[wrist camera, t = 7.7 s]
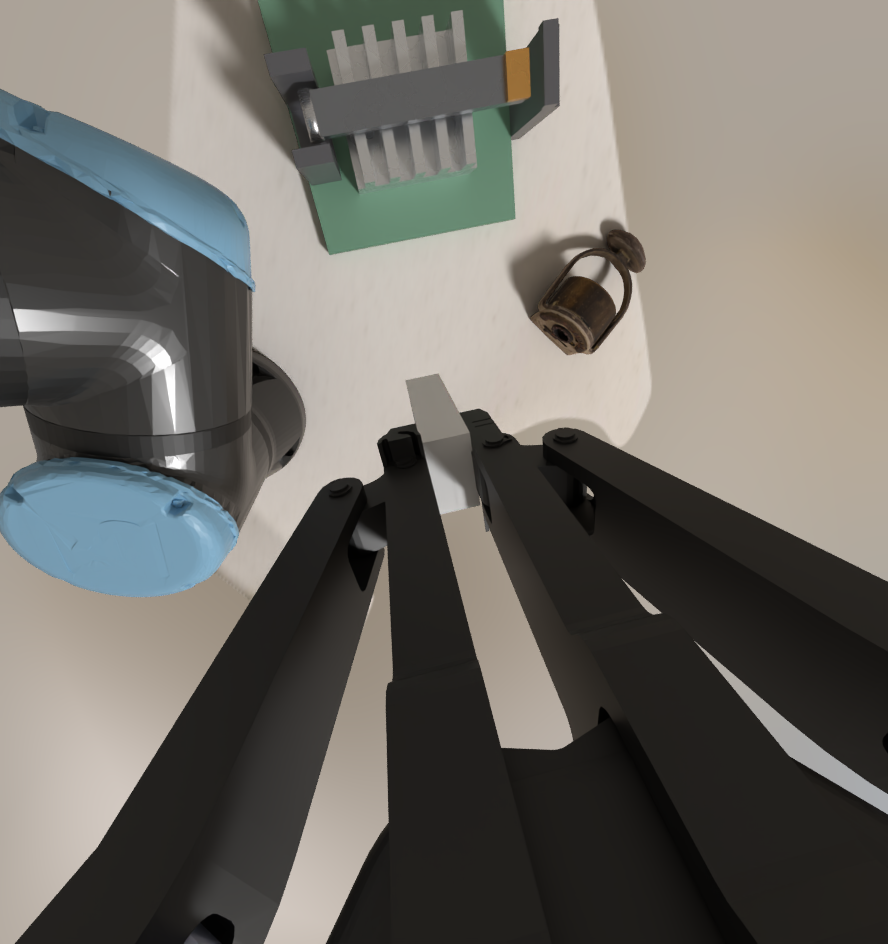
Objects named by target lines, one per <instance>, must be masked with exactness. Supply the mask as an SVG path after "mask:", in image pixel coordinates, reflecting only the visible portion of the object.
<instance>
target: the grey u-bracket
mask: <svg viewBox="0 0 888 944" xmlns="http://www.w3.org/2000/svg"><path fill="white" fill-rule="evenodd" d="M264 57H265V60H266V64H267V67H268V71H269V74H270V77H271V79H272V81H273V82H274V84H275V86H276V87H277V89H278V91H279V93H280V94H281V96H282V98H283V99H284V101H285V103H286V104H287V106H288V108H289V109H290V111H291V114H292V117H293V121H294V124H295V128H296V132H297V135H298V139H299V142H300V146H301V148H300V149H295V150H292V153H293V157H294V160H295V164H296V167H297V169H298V170H299V171H300V173H301V174H302V175H303V176H304V177H305V178H306V179H307V180H308V181H309V183H310V184H311V185H312V186H313V185H318V184H324V183H329V182H335V181H340V180H342V178H341V174H340V170H339V165H338V161H337V157H336V153H335V149H334V145H333V141H332V138H331V139H326V140H325V141H324V142H321V143H311V141H310V137H309V133H308V130H307V126H306V122H305V118H304V115H303V111H302V107H301V103H300V100H299V96H298V90H300V89H303V88H311V89H318V88H319V86H318V83H317V80H316V77H315V74H314V71H313V68H312V65H311V62H310V59H309V56H308V53H307V50H306V47H305V48H299V49H293V50H287V51H281V52H275V53H269V54H264Z"/></svg>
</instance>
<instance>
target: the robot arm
mask: <svg viewBox="0 0 888 944" xmlns="http://www.w3.org/2000/svg"><path fill="white" fill-rule="evenodd" d="M252 292H255V282H254V281H253V280H252V278H251V260H250V238H249V230H248V225H247V222H246V220H245V218H244V216H243V214H242V212H241V211H240V209H239V208H238V207H237V205H236V204H235V203H234V202H233V201H232V200H231V199H230V198H229V197H228V196H227V195H225V194H224V193H223V192H222V191H220V190H219V189H217V188H216V187H214V186H213V185H211V184H210V183H208V182H206V181H205V180H203V179H201V178H199V177H197V176H196V175H194V174H192V173H190V172H188V171H186V170H184V169H182V168H180V167H178V166H176V165H174V164H173V163H171V162H168V161H166V160H164V159H162V158H160V157H158V156H156V155H154V154H152V153H150V152H147V151H146V150H143V149H141V148H139V147H137V146H135V145H133V144H131V143H128V142H126V141H124V140H122V139H120V138H117V137H115V136H113V135H111V134H109V133H106V132H104V131H102V130H99V129H97V128H95V127H93V126H90V125H88V124H86V123H83V122H81V121H78V120H76V119H74V118H71V117H69V116H66V115H64V114H61V113H59V112H51V111H46V110H45V109H43V108H42V107H41V106H39V105H36V104H34V103H31V102H28V101H25V100H22V99H20V98H18V97H16V96H14V95H12V94H10V93H8V92H6V91H4V90H1V89H0V407H7V406H20V405H23V407H24V410H25V414H26V417H27V421H28V424H29V428H30V431H31V435H32V438H33V442H34V445H35V449H36V452H37V462H35V463H33V464H31V465H29V466H27V467H24V468H22V469H20V470H19V471H17V472H16V473H15V474H13V476H12V478H11V480H10V482H9V483H8V486H6V487H5V488H4V489H3V491H2V492H1V493H0V532H1V534H2V535H3V537H4V538H5V540H6V541H7V542H8V544H9V545H10V546H11V547H12V548H13V550H15V551H16V552H17V553H18V554H19V555H20V556H21V557H23V558H24V559H25V560H27V562H29V563H30V564H32V565H33V566H35V567H36V568H38V569H40V570H42V571H43V572H45V573H47V574H48V575H50V576H52V577H55V578H58V579H62V580H64V581H66V582H68V583H70V584H72V585H74V586H77V587H80V588H83V589H87V590H90V591H95V592H99V593H104V594H110V595H118V596H128V597H153V596H162V595H169V594H173V593H177V592H181V591H184V590H186V589H189V588H191V587H193V586H195V584H197V583H200V582H202V581H205V580H206V579H208V578H209V577H210V576H211V575H212V574H213V573H214V572H216V570H217V569H218V568H219V567H220V565H221V564H222V562H223V561H224V559H225V558H226V556H227V554H228V553H229V552H230V551H231V550H232V549H233V547H234V546H235V545H236V543H237V539H238V536H239V532H240V530H241V528H242V526H243V524H244V522H245V520H246V517H247V515H248V513H249V511H250V509H251V507H252V505H253V503H254V501H255V499H256V497H257V495H258V493H259V491H260V488H261V486H262V484H263V482H264V480H265V479H266V478H267V477H269V476H271V475H272V474H274V473H276V472H277V471H279V470H280V469H282V468H283V467H284V466H285V465H287V464H288V463H289V462H290V460H291V459H292V458H293V457H294V455H295V454H296V452H297V450H298V448H299V446H300V444H301V441H302V439H303V436H304V432H305V427H306V414H305V408H304V404H303V401H302V398H301V396H300V394H299V392H298V390H297V388H296V387H295V385H294V384H293V382H292V381H291V379H290V378H289V377H288V376H287V375H286V374H285V373H284V372H283V371H282V370H281V369H280V368H279V367H278V366H277V365H276V364H274V363H273V362H272V361H270V360H269V359H267V358H266V357H264V356H262V355H260V354H258V353H256V352H254V351H252ZM406 384H407V389H408V393H409V398H410V402H411V407H412V411H413V416H414V420H415V424H411V425H406V426H402V427H397V428H393V429H390V430H389V432H388V433H387V434H386V435H384V436H383V437H382V438H380V439H379V440H378V443H377V446H378V449H379V453H380V456H381V459H382V463H383V466H384V474H383V475H382V476H381V477H380V478H378V479H377V480H375V481H373V482H371V483H369V484H366V485H364V486H363V484H362V482H361V481H360V480H359V479H356V478H343V479H337V480H336V481H335V480H334V481H332V482H330V483H329V484H327V485H326V486H324V487H323V488H322V489H321V490H320V491H319V492H318V494H317V496H316V497H315V499H314V501H313V502H312V504H311V505H310V507H309V509H308V510H307V512H306V513H305V515H304V517H303V518H302V520H301V521H300V523H299V525H298V526H297V528H296V529H295V531H294V533H293V534H292V536H291V537H290V539H289V541H288V542H287V544H286V545H285V547H284V549H283V550H282V552H281V553H280V555H279V557H278V558H277V560H276V562H275V563H274V565H273V566H272V568H271V570H270V571H269V573H268V574H267V576H266V578H265V579H264V581H263V582H262V584H261V586H260V587H259V589H258V590H257V592H256V594H255V595H254V597H253V598H252V600H251V602H250V603H249V605H248V607H247V608H246V610H245V611H244V613H243V615H242V616H241V618H240V620H239V621H238V623H237V624H236V626H235V628H234V629H233V631H232V632H231V634H230V635H229V637H228V639H227V640H226V642H225V643H224V645H223V647H222V648H221V650H220V651H219V653H218V655H217V656H216V658H215V659H214V661H213V663H212V664H211V666H210V668H209V669H208V671H207V672H206V674H205V676H204V677H203V679H202V680H201V682H200V684H199V685H198V687H197V689H196V690H195V692H194V693H193V695H192V696H191V698H190V700H189V701H188V703H187V704H186V706H185V708H184V709H183V711H182V712H181V714H180V716H179V717H178V719H177V720H176V722H175V724H174V725H173V727H172V729H171V730H170V732H169V733H168V735H167V737H166V738H165V740H164V741H163V743H162V745H161V746H160V748H159V749H158V751H157V753H156V754H155V756H154V758H153V759H152V761H151V762H150V764H149V765H148V767H147V769H146V770H145V772H144V773H143V775H142V777H141V778H140V780H139V782H138V783H137V785H136V787H135V788H134V790H133V791H132V793H131V794H130V796H129V798H128V799H127V801H126V802H125V804H124V806H123V807H122V809H121V810H120V812H119V814H118V815H117V817H116V819H115V820H114V822H113V823H112V825H111V827H110V828H109V830H108V831H107V833H106V835H105V836H104V838H103V839H102V841H101V843H100V844H99V846H98V847H97V849H96V850H95V851H94V852H93V853H92V854H91V855H90V857H89V858H88V859H87V860H86V861H85V862H84V864H83V865H82V866H81V867H80V868H79V869H78V871H77V872H76V873H75V874H74V875H73V876H72V878H71V879H70V880H69V881H68V882H67V883H66V885H65V886H64V887H63V888H62V889H61V890H60V892H59V893H58V894H57V895H56V896H55V897H54V899H53V900H52V901H51V902H50V903H49V904H48V906H47V907H46V908H45V909H44V910H43V911H42V912H41V914H40V915H39V916H38V917H37V918H36V919H35V921H34V922H33V923H32V924H31V926H29V928H28V929H27V930H26V931H25V932H24V934H23V935H22V936H21V937H20V938H19V939H18V940H17V942H16V943H15V944H264V941H265V939H266V937H267V934H268V932H269V929H270V927H271V924H272V922H273V919H274V917H275V915H276V912H277V910H278V907H279V905H280V902H281V899H282V896H283V893H284V890H285V887H286V884H287V881H288V878H289V875H290V872H291V869H292V866H293V862H294V860H295V856H296V853H297V850H298V846H299V843H300V840H301V836H302V832H303V829H304V826H305V823H306V819H307V816H308V812H309V809H310V805H311V802H312V799H313V795H314V792H315V789H316V785H317V782H318V779H319V775H320V772H321V768H322V765H323V761H324V758H325V755H326V751H327V748H328V744H329V741H330V738H331V734H332V731H333V728H334V724H335V721H336V717H337V714H338V710H339V707H340V704H341V700H342V697H343V694H344V690H345V687H346V683H347V680H348V677H349V673H350V670H351V666H352V663H353V660H354V656H355V653H356V650H357V646H358V643H359V639H360V636H361V633H362V629H363V626H364V622H365V619H366V616H367V612H368V609H369V605H370V602H371V599H372V595H373V592H374V588H375V585H376V582H377V578H378V575H379V571H380V567H381V565H382V561H383V558H384V547H385V546H387V548H388V570H389V592H390V614H391V637H392V657H393V658H392V659H393V679H392V682H390V683H388V685H387V690H386V732H387V770H388V771H387V772H388V808H389V809H388V812H389V823H388V824H387V826H386V827H385V828H384V830H383V831H382V832H381V834H380V835H379V837H378V839H377V840H376V842H375V844H374V845H373V847H372V849H371V850H370V852H369V854H368V856H367V858H366V860H365V862H364V864H363V866H362V868H361V870H360V872H359V875H358V876H357V879H356V881H355V883H354V885H353V887H352V889H351V891H350V894H349V896H348V898H347V900H346V902H345V904H344V906H343V908H342V910H341V913H340V915H339V917H338V919H337V921H336V923H335V925H334V928H333V930H332V932H331V935H330V936H329V938H328V940H327V943H326V944H888V814H886V813H884V812H883V811H881V810H879V809H878V808H876V807H874V806H873V805H871V804H869V803H867V802H866V801H864V800H862V799H861V798H859V797H857V796H856V795H854V794H852V793H851V792H849V791H847V790H845V789H844V788H842V787H840V786H839V785H837V784H835V783H833V782H832V781H830V780H828V779H827V778H825V777H823V776H822V775H820V774H818V773H817V772H815V771H813V770H812V769H810V768H808V767H807V766H805V765H803V764H801V763H800V762H798V761H796V760H795V759H793V758H791V757H790V756H788V754H787V753H786V752H785V751H784V749H783V748H782V747H781V746H780V745H779V743H778V742H777V741H776V740H775V739H774V737H773V736H772V735H771V734H770V732H769V731H768V730H767V729H766V728H765V727H764V725H763V724H762V723H761V722H760V720H759V719H758V718H757V717H756V715H755V714H754V713H753V712H752V711H751V709H750V708H749V707H748V706H747V704H746V703H745V702H744V701H743V700H742V699H741V697H740V696H739V695H738V694H737V692H736V691H735V690H734V689H733V687H732V686H731V685H730V684H729V683H728V682H727V680H726V679H725V678H724V677H723V675H722V674H721V673H720V672H719V670H718V669H717V668H716V667H715V666H714V665H713V664H712V662H711V661H710V660H709V658H708V657H707V656H706V655H705V653H704V652H703V651H702V650H701V649H700V647H699V646H698V645H697V644H696V643H695V642H697V643H698V644H699V645H700V646H701V647H702V648H703V649H705V650H706V651H707V652H708V653H709V654H710V655H712V656H713V657H714V658H715V659H716V660H717V661H719V662H720V663H721V664H722V665H723V666H724V667H726V668H727V669H728V670H729V671H730V672H731V673H733V674H734V675H735V676H736V677H737V678H738V679H740V680H741V681H742V682H743V683H744V684H745V685H747V686H748V687H749V688H750V689H751V690H752V691H754V692H755V693H756V694H757V695H758V696H759V697H761V698H762V699H763V700H764V701H765V702H766V703H768V704H769V705H770V706H771V707H772V708H773V709H775V710H776V711H777V712H778V713H779V714H780V715H782V716H783V717H784V718H785V719H786V720H787V721H789V722H790V723H791V724H792V725H793V726H795V727H796V728H797V729H798V730H800V731H801V732H802V733H803V734H805V735H806V736H807V737H808V738H810V739H811V740H812V741H813V742H815V743H816V744H817V745H818V746H820V747H821V748H822V749H823V750H825V751H826V752H827V753H829V754H830V755H831V756H833V757H834V758H836V759H837V760H839V761H840V762H841V763H843V764H844V765H846V766H847V767H848V768H850V769H851V770H853V771H854V772H855V773H857V774H858V775H860V776H861V777H862V778H864V779H865V780H867V781H868V782H870V783H871V784H873V785H874V786H876V787H877V788H879V789H881V790H882V791H884V792H885V793H887V794H888V582H887V581H885V580H883V579H881V578H879V577H877V576H875V575H872V574H871V573H869V572H867V571H865V570H862V569H861V568H859V567H856V566H855V565H853V564H851V563H849V562H847V561H845V560H843V559H841V558H839V557H837V556H834V555H832V554H830V553H828V552H826V551H824V550H822V549H820V548H818V547H816V546H814V545H812V544H810V543H808V542H806V541H804V540H802V539H800V538H798V537H796V536H794V535H792V534H790V533H788V532H786V531H784V530H782V529H780V528H778V527H776V526H774V525H772V524H770V523H767V522H766V521H764V520H762V519H760V518H758V517H756V516H754V515H751V514H750V513H748V512H745V511H743V510H741V509H739V508H737V507H735V506H733V505H731V504H729V503H727V502H725V501H723V500H721V499H719V498H717V497H715V496H713V495H711V494H709V493H707V492H705V491H703V490H701V489H699V488H697V487H695V486H693V485H690V484H689V483H687V482H685V481H682V480H681V479H678V478H677V477H675V476H673V475H671V474H669V473H666V472H664V471H662V470H661V469H659V468H656V467H654V466H652V465H650V464H648V463H646V462H644V461H642V460H640V459H638V458H636V457H634V456H632V455H630V454H628V453H626V452H624V451H622V450H620V449H618V448H616V447H614V446H612V445H610V444H608V443H606V442H604V441H602V440H600V439H598V438H596V437H594V436H592V435H590V434H588V433H586V432H584V431H581V430H578V429H571V428H558V429H556V430H552V431H549V432H548V433H546V434H545V435H544V436H543V437H542V438H543V445H528V446H527V445H520V444H519V443H518V441H517V440H516V439H515V438H514V437H513V436H512V435H509V434H506V433H502V432H501V431H500V429H499V428H498V427H497V425H496V424H495V423H494V421H493V420H492V419H491V417H490V415H489V414H488V413H487V412H485V411H483V410H481V409H475V410H470V411H466V412H461V413H459V411H458V410H457V408H456V406H455V404H454V402H453V400H452V398H451V396H450V395H449V393H448V391H447V389H446V387H445V385H444V383H443V381H442V380H441V378H440V376H439V374H434V375H429V376H425V377H420V378H415V379H411V380H406ZM587 486H588V487H589V488H590V489H591V491H592V492H593V494H594V497H592V496H590V495H589V494H587ZM479 496H480V498H481V501H482V507H483V514H484V521H485V529H486V532H487V531H489V529H490V531H491V533H492V536H493V538H494V541H495V543H496V545H497V548H498V550H499V553H500V555H501V558H502V560H503V563H504V565H505V567H506V570H507V572H508V574H509V577H510V579H511V582H512V584H513V587H514V589H515V592H516V594H517V596H518V599H519V601H520V604H521V606H522V608H523V611H524V613H525V616H526V618H527V621H528V623H529V625H530V628H531V630H532V633H533V635H534V637H535V640H536V642H537V645H538V647H539V650H540V652H541V655H542V657H543V659H544V662H545V664H546V667H547V669H548V671H549V674H550V676H551V679H552V681H553V683H554V686H555V688H556V691H557V693H558V696H559V698H560V700H561V703H562V705H563V708H564V710H565V713H566V716H567V718H568V722H569V725H570V728H571V733H572V737H573V742H572V743H570V744H568V745H567V746H565V747H564V748H562V749H558V750H540V749H514V748H501V746H500V742H499V738H498V734H497V730H496V726H495V722H494V719H493V715H492V711H491V707H490V703H489V699H488V695H487V691H486V688H485V684H484V680H483V676H482V672H481V668H480V665H479V662H478V660H477V657H476V653H475V649H474V646H473V641H472V638H471V634H470V630H469V626H468V622H467V618H466V614H465V610H464V606H463V602H462V599H461V594H460V591H459V587H458V583H457V579H456V575H455V571H454V567H453V563H452V559H451V556H450V551H449V547H448V543H447V539H446V535H445V532H444V528H443V524H442V520H441V516H440V514H444V513H449V512H453V511H457V510H462V509H466V508H470V507H475V506H479V505H480V501H479ZM622 579H623V580H624V581H625V582H627V583H628V584H629V585H630V586H631V587H632V588H634V589H635V590H636V591H637V592H638V593H639V594H641V595H642V596H643V597H644V598H645V599H646V600H648V601H649V602H650V603H651V604H652V605H653V606H655V607H656V608H657V609H658V610H659V611H660V612H662V613H661V614H655V615H652V614H650V613H649V612H647V610H645V608H644V607H643V606H642V605H641V604H640V602H639V601H638V600H637V598H636V597H635V596H634V594H633V593H632V592H631V590H630V589H629V588H628V586H627V585H626V584H625V582H624V581H623V580H622ZM694 641H695V642H694Z"/></svg>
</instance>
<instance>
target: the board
mask: <svg viewBox="0 0 888 944" xmlns="http://www.w3.org/2000/svg"><path fill="white" fill-rule="evenodd" d="M258 3H259V7H260V10H261V14H262V17H263V21H264V24H265V28H266V32H267V35H268V39H269V42H270V46H271V49H272V53H275V52H281V51H287V50H293V49H299V48H305V47H306V50H307V53H308V56H309V59H310V62H311V65H312V68H313V71H314V74H315V77H316V80H317V83H318V86H319V88H323V87H329V86H334V81H333V77H332V72H331V68H330V64H329V59H328V55H327V51H326V50H330V49H335V47H334V42H333V37H332V32H331V31H336V30H343V29H344V34H345V39H346V44H347V47H348V46H354V45H360V44H363V41H362V26H367V25H373V24H374V29H375V35H376V40H377V42H378V41H384V40H390V38H391V23H392V21H398V20H404V26H405V33H406V37H409V36H415V35H418V31H419V26H420V21H421V17H422V16H429V15H433V18H434V26H435V32H439V31H445V29H446V26H447V23H448V19H449V16H450V13H451V12H453V11H459V10H463V20H464V31H465V41H466V52H467V61H472V60H477V59H483V58H488V57H494V56H499V55H504V54H505V52H506V40H505V22H504V4H503V0H258ZM288 110H289V113H290V117H291V120H292V124H293V127H294V131H295V135H296V138H297V142H298V145H299V149H300V148H301V146H300V142H299V139H298V135H297V132H296V128H295V124H294V121H293V117H292V114H291V111H290V109H289V108H288ZM472 116H473V127H474V137H475V148H476V159H477V168H476V169H475V170H474V171H473V172H471V173H470V174H468V175H462V176H457V177H451V178H446V179H441V180H435V181H430V182H425V183H419V184H414V185H408V186H403V187H398V188H392V189H387V190H381V191H376V192H371V193H365V194H359V190H358V186H357V182H356V177H355V173H354V169H353V164H352V160H351V155H350V151H349V147H348V142H347V138H346V136H342V137H337V138H332V141H333V145H334V149H335V153H336V157H337V161H338V165H339V170H340V174H341V178H342V180H340V181H335V182H329V183H324V184H318V185H313V186H312V185H311V184H310V183H309V184H310V188H311V191H312V195H313V198H314V202H315V206H316V209H317V213H318V216H319V220H320V223H321V227H322V230H323V234H324V238H325V241H326V245H327V248H328V252H329V255H332V254H337V253H343V252H348V251H353V250H358V249H363V248H368V247H374V246H379V245H384V244H389V243H394V242H400V241H405V240H410V239H415V238H420V237H425V236H431V235H436V234H441V233H446V232H451V231H456V230H462V229H467V228H472V227H477V226H482V225H488V224H493V223H498V222H503V221H508V220H513V219H515V203H514V185H513V167H512V149H511V131H510V113H509V106H504V107H498V108H493V109H487V110H482V111H477V112H472Z"/></svg>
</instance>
